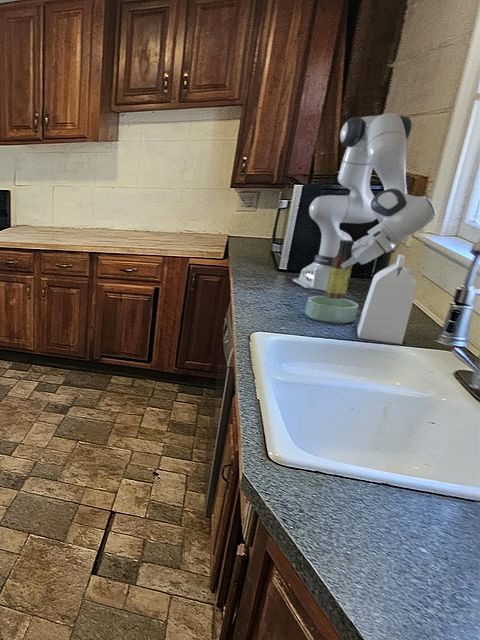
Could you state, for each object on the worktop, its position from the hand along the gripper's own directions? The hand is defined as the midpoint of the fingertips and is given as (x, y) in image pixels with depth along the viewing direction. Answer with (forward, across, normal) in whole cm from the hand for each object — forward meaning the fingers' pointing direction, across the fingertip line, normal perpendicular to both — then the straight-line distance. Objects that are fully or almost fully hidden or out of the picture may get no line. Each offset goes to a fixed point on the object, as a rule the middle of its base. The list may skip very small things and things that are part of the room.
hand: (339, 265), depth 183 cm
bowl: (+13, 0, +14) cm, 19 cm away
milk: (+5, +16, +23) cm, 28 cm away
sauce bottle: (+8, 0, +9) cm, 12 cm away
